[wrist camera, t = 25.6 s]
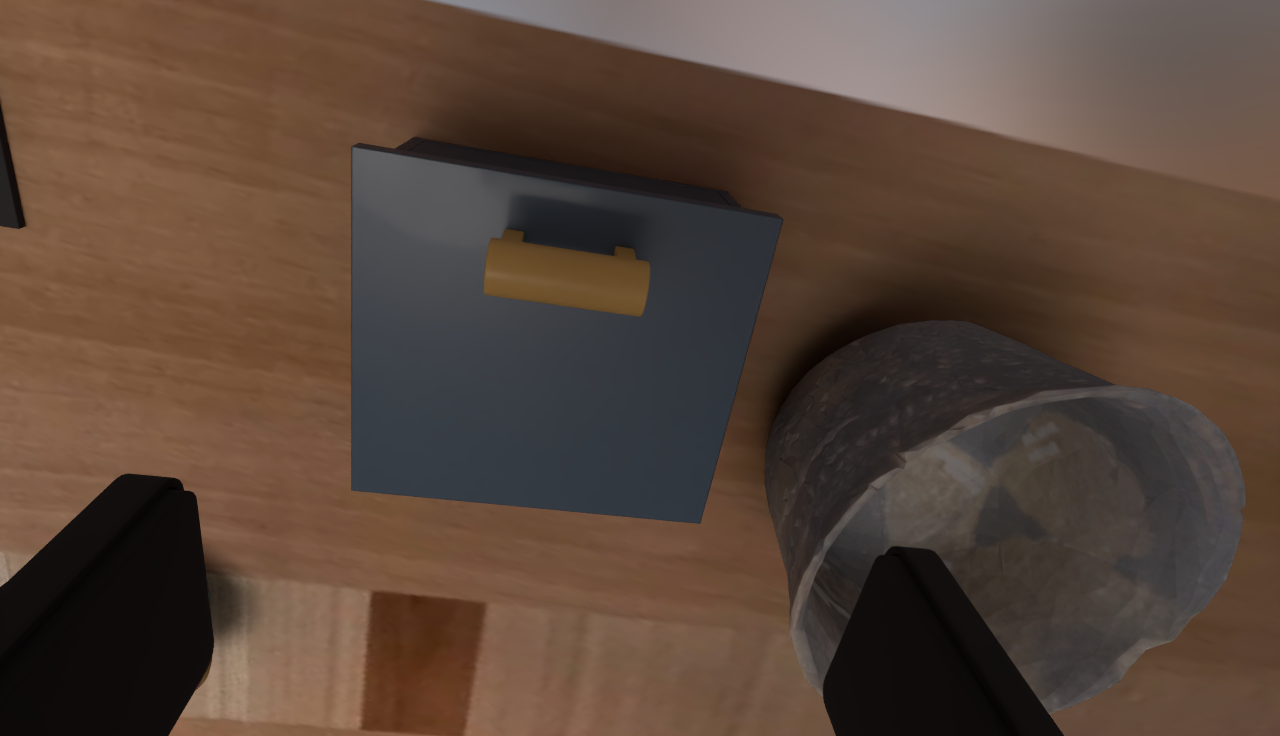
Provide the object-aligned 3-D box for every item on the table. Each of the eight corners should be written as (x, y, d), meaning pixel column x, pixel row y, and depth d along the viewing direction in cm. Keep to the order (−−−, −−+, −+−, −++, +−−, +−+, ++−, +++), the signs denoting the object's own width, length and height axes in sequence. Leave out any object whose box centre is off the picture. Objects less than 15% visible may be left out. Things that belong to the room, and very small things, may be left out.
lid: (358, 142, 23) (302, 168, 18) (777, 213, 25) (822, 253, 21) (357, 479, 29) (313, 564, 24) (697, 512, 31) (718, 595, 27)
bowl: (756, 241, 35) (868, 368, 21) (1065, 273, 37) (1343, 406, 23) (700, 516, 42) (757, 738, 29) (960, 529, 44) (1124, 740, 31)
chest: (412, 136, 31) (358, 169, 23) (727, 191, 33) (771, 237, 26) (404, 386, 37) (357, 478, 29) (674, 418, 39) (697, 511, 31)
